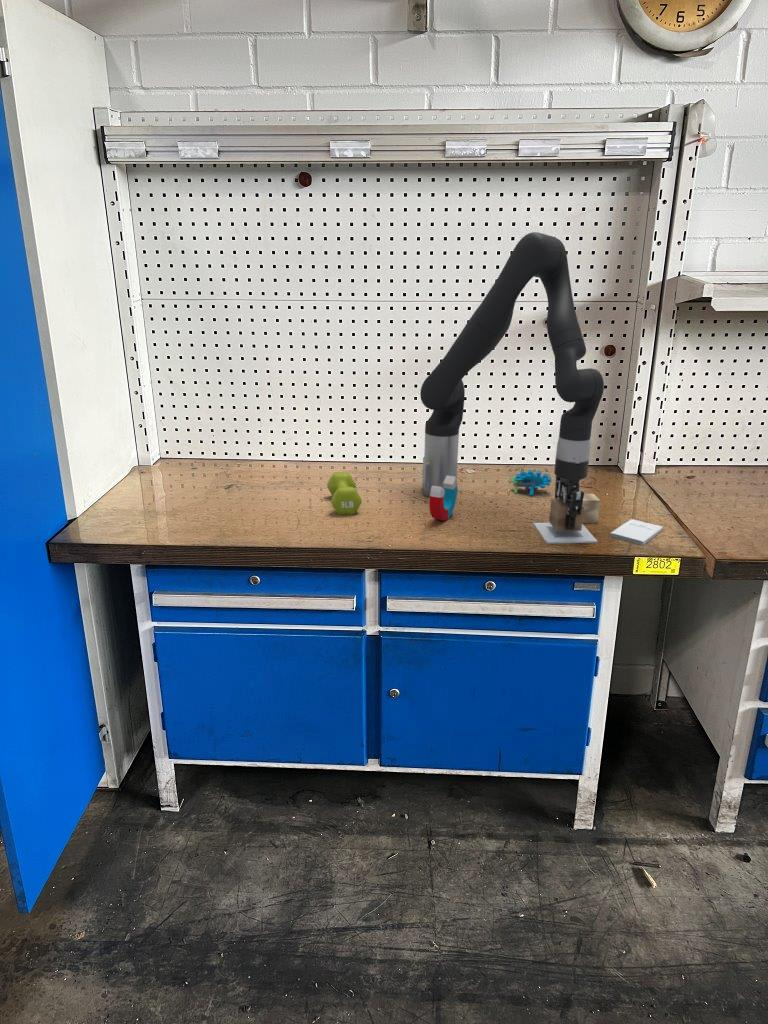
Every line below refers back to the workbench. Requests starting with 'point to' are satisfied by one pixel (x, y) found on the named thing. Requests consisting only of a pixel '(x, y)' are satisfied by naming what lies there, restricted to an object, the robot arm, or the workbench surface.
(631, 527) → the external hard drive
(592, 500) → the maple block
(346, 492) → the dumbbell
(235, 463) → the workbench surface
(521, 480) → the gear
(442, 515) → the magnet
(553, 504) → the walnut block
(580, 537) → the white square plate
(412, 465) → the workbench surface
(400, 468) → the workbench surface
